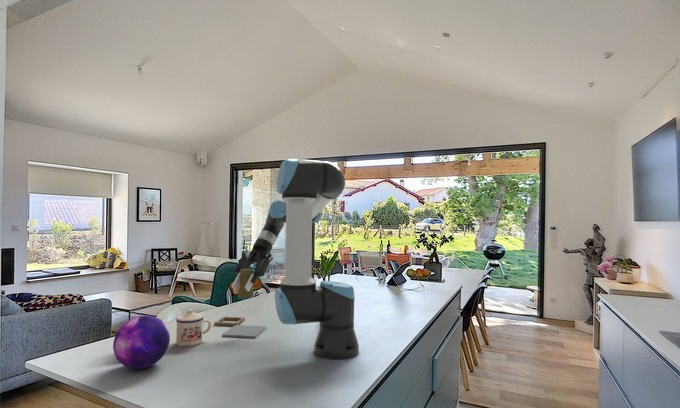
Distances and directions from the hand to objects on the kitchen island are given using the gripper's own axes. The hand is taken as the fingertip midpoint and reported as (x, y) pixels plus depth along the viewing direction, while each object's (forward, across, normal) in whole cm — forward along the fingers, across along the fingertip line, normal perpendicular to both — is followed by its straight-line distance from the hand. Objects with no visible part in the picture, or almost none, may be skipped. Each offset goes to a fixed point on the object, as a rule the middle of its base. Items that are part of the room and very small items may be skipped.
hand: (240, 288), depth 147 cm
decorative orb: (+39, +7, +14) cm, 42 cm away
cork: (0, 0, -6) cm, 6 cm away
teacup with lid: (+22, +10, -3) cm, 24 cm away
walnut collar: (+4, +14, -21) cm, 25 cm away
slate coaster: (+10, 0, -15) cm, 18 cm away
